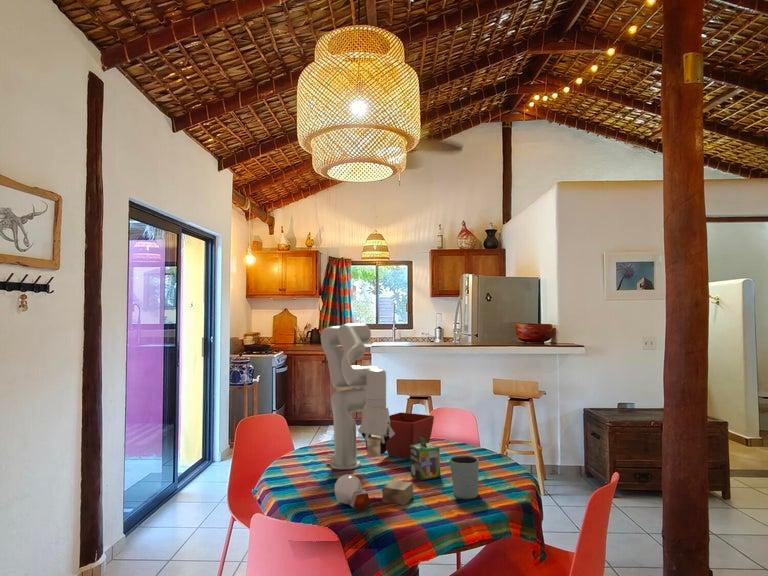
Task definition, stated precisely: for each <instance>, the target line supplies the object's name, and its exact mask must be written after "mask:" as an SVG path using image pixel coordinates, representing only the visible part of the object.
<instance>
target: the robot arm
mask: <svg viewBox="0 0 768 576" xmlns="http://www.w3.org/2000/svg"><path fill="white" fill-rule="evenodd" d="M371 337H372V332H371V329H370V327H369V326H368V325H367V324H366V323H361V322H358V323H357V322H356V323H344V324H341V325H335V326H334V325H332V326H328V327H325V328H323V329H322V331H321V333H320V342H321V347H322V348H321V349H322V350H323V352H324V355H325V357H326V360H327V363H328V364H327V365H328V372H329V376H330V382H331V385H332V387H333V388H336V389H343V390H337V391H336V392H334V393H333V394H332V396H331V398H330V403H331V409H332V415H333V416H332V417H333V445H334V446H333V451H334V453H327V456H326V459H327V460H331V462H330V467H331V469H334V470H339V471H341V470H342V471H346V470H353V469H357V468H359V467H360V466H361V461H360V460H358V458H357V457H358V455H357V431H358V433H359V434H361V436H362V437H363V439H364V441H365V450H367V438H369V437H370V436H372V435H377V436H380V437H381V441H382V443H381V454H383V455H384V454H386V452H387V450H386V442H387V441H388V440H389V439H390V438H391V437H392V436H394V435H395V433H394V431H393V430H392V428H391V427H390V417H389V416H390V411H389V407H388V406H387V372H386V370H385V369H382V368H380V367H378V366H377V365H367V366H366V365H364V366H363V365H358V364H357V365H356V364H355V365H352V363H355V362H356V361H358V360H359V359H361V358H362V357H363V356H364V355H365V353H366V346H365V344H367V343H368V342H369V341H370V340H371ZM339 346H341V348H340V347H339ZM349 388H355V389H349ZM357 412H362V413H361V424H360V426H359V428H358V429H357V423H356V420H355V418H353V416H352V415H351V413H357ZM387 433H389V435H388V436H387V435H386V434H387Z"/></svg>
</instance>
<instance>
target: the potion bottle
mask: <svg viewBox="0 0 768 576" xmlns="http://www.w3.org/2000/svg"><path fill="white" fill-rule="evenodd" d="M333 489H334V495H335V498H336V500H337V501H338V502H340V503H342V504H343V505H349V506H350V507H351V508H353V509H354V510H357V511H358V512H360V513H361V512H362V513H363V512H364V511H365V510H366V509H367V508H368V507H369V506H370V505H371V500H370V497H369V493H367V490H366V488H364V489H363V485H362V482H361V481H360V478H359V477H357V476H356V475H354V474H348V473H346V474H344V475H342V476H340V477H338V479H337V480H336V482H335V483H334V488H333Z"/></svg>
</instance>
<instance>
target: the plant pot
mask: <svg viewBox="0 0 768 576" xmlns="http://www.w3.org/2000/svg"><path fill="white" fill-rule="evenodd" d="M389 417H390V427H391V428H392V430H393V431H394V433H395V435H394V436H392V437H391V438H390V439H389V440H388V441H387V442H386V452H387V455H388V456H390V457H394V458H395V457H396V458H402V459H407V460H410V445H415V444H421V442H420V439H419V437H421V438H424V439H425V442H426V443H430V440H431V436H432V432H433V426H434V418H435V415H429V414H421V413H411V412H410V413H409V412H397V413H394V414H389ZM386 435H387V436H388V435H389V433H387V434H386ZM422 443H424V442H423V440H422Z"/></svg>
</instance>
